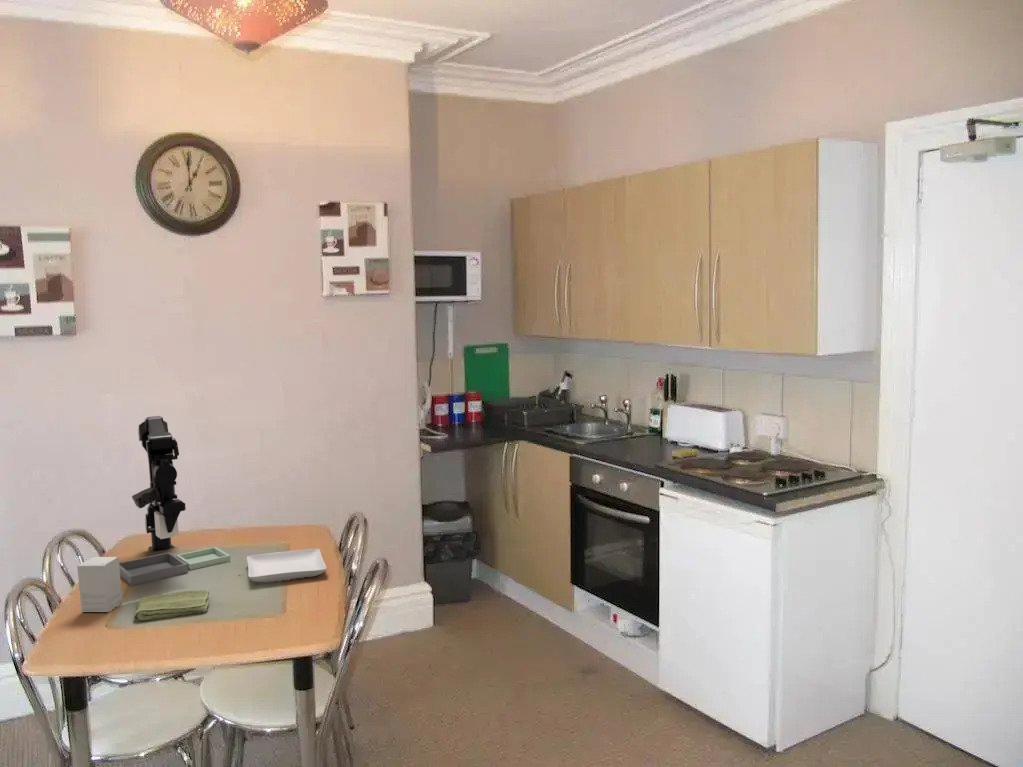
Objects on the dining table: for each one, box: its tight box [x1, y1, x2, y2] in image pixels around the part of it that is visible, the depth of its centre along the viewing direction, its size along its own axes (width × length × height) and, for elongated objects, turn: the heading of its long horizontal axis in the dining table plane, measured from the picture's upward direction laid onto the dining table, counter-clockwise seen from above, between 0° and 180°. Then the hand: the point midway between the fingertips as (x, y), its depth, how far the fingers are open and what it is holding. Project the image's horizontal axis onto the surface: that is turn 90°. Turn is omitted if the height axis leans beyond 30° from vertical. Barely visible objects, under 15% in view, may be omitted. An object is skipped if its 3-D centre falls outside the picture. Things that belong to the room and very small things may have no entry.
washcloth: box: [133, 590, 210, 622], centre depth 220 cm, size 13×18×3 cm
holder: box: [175, 546, 232, 571], centre depth 257 cm, size 12×12×2 cm
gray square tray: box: [119, 551, 189, 586], centre depth 247 cm, size 16×16×3 cm
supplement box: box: [76, 556, 123, 613], centre depth 221 cm, size 7×7×13 cm
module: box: [154, 511, 180, 539], centre depth 249 cm, size 5×5×7 cm
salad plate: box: [246, 548, 327, 583], centre depth 247 cm, size 21×21×3 cm
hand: (166, 530), depth 249 cm, fingers closed on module, 5 cm apart
